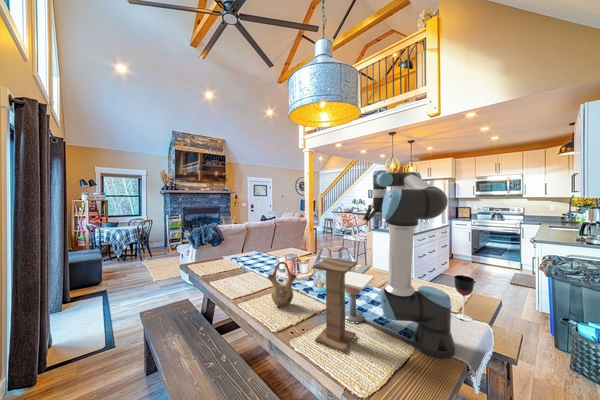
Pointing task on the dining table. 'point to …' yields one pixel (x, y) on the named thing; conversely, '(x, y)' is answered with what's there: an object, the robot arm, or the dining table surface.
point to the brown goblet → (353, 306)
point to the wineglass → (464, 289)
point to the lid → (358, 278)
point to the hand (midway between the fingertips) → (379, 233)
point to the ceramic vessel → (282, 288)
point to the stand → (335, 304)
